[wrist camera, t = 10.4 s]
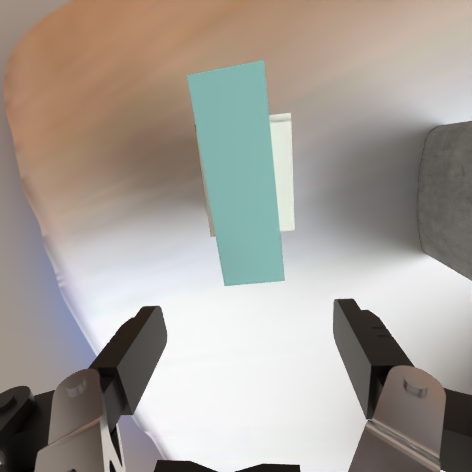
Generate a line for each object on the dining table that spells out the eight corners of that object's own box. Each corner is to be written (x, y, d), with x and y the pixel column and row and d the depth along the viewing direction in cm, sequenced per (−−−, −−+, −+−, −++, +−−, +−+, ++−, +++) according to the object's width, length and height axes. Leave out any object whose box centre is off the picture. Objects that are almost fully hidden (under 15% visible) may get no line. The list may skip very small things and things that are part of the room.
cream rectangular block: (213, 133, 30) (194, 124, 21) (280, 125, 29) (290, 112, 20) (223, 213, 33) (210, 236, 24) (284, 208, 32) (294, 230, 23)
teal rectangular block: (206, 97, 20) (186, 75, 14) (261, 87, 19) (263, 59, 14) (232, 255, 24) (224, 285, 19) (278, 250, 24) (284, 280, 18)
